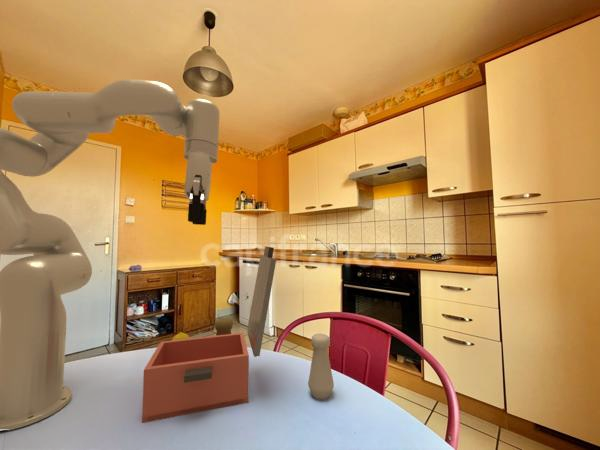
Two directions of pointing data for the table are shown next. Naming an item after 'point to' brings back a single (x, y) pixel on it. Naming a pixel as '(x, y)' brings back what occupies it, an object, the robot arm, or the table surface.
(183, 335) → the lemon
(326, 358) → the salt shaker
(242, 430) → the table surface
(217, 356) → the orange wooden open box
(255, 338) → the grey box lid
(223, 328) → the cork
